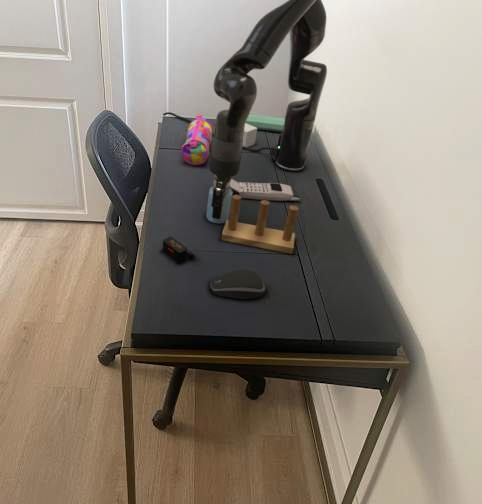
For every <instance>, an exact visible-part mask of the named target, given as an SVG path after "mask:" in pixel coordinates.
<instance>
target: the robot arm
mask: <svg viewBox="0 0 482 504" xmlns="http://www.w3.org/2000/svg"><path fill="white" fill-rule="evenodd" d="M326 28H327V12H326V9H325V6H324V3H323V1H322V0H287V1H285V2H284V3H282V4H281V5H279V6H277V7H275V8H273V9H271V10H270V11H269V12H267V13H266V14H265V15H263V16H262V17H261V18H260V19H259V20H258V22H257V23H256V24H255V25H254V27H253V28H252V30H251V31H250V33H249V34H248V36H247V37H246V39H245V41H244V42H243V44H242V46H241V47H240V48H239V49H238V50H237V51H236V52H234V54H233V55H231V57H230V58H228V60H227V61H226V62H224V63H223V65H222V66H220V68H219V69H218V71H217V73H216V74H215V77H214V79H213V91H214V93H215V95H217V96H218V97H219V98H221V100H224V101H226V102H228V103H229V107H228V109H222V110H220V111H218V112H217V114H216V117H215V125H214V131H213V132H212V141H211V149H210V159H209V165H208V166H209V168H208V169H209V171H210V173H212V174H213V175H214V176H215V175H216V178H215V177H214V180H213V186H214V188H213V198H212V204H211V206H212V207H213V212H212V218H215V219H220V217H221V211H222V206H223V200H224V198H226V195H227V189H228V188H229V189H230V182H231V179H232V177H235V176H237V175H238V174H239V172H240V166H241V161H242V153H243V149H244V150H247V151H250V152H254V153H255V152H260V151H264V150H269V151H270V154H269V155H270V156H272V157H274V159H273V160H274V162H275V165H276V166H277V167H278V168H280V169H282V170H283V171H288V172H300V171H303V170H304V169H305V165H306V161H307V156H308V151H309V147H310V142H311V139H312V135H313V130H314V126H315V122H316V118H317V113H318V109H319V104H320V101H321V96H322V93H323V90H324V86H325V83H326V80H327V75H328V66H327V65H326V64H325V63H321V62H316V61H312V60H307V59H305V58H307V57H308V56H310V55H311V54H312V53H313V52H314V51H316V50H317V49H318V48H319V47H320V46H321V44H322V43H323V42H324V39H325V37H326V31H327V30H326ZM288 35H289V62H288V71H287V86H288V88H289V90H290V91H292V92H295V93H299V94H304V95H308V96H309V97H308V98H305V99H302V100H300V99H299V100H295V101H294V100H293V101H291V102H289V103H288V104H287V107H286V111H285V117H284V119H285V121H284V126H283V131H282V132H280V133H279V135H278V141H277V144H275V145H273V146H271V147H269V146H262V147H260V148H257V149H256V148H251V147H244V146H243V134H244V127H245V122H246V120H247V118H248V116H249V114H250V113H251V111H252V109H253V107H254V104H255V102H256V98H257V95H258V87H257V83H256V80H255V79H254V78H253V77H252V76H251V75H249V73H250V72H251V71H253V70H259V71H260V70H264V69H266V67H267V66H268V65H269V64H270V62H271V60H272V59H273V57H274V56H275V54H276V52H277V51H278V50H279V48H280V46H281V45H282V43H283V42H284V41H285V39H286V38H287V36H288ZM166 115H171V116H173V117H175V118H177V119H180V120H183V121H185V122H188V123H189V124H190V123H191V122H192V121H193V120H191V119H188V118H186V117H183V116H181V115H178V114H176V113H173V112H170V111H166V112H164V113H163V114H162V116H166ZM223 193H224V195H223ZM216 201H219V202H216Z"/></svg>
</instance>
